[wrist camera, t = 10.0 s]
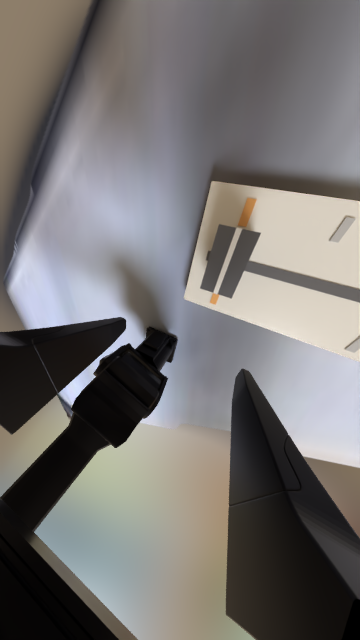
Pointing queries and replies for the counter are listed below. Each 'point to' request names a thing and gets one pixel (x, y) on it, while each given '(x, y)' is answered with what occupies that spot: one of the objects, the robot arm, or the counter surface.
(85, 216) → the counter surface
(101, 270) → the counter surface
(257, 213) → the panel
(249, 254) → the block
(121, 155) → the counter surface
